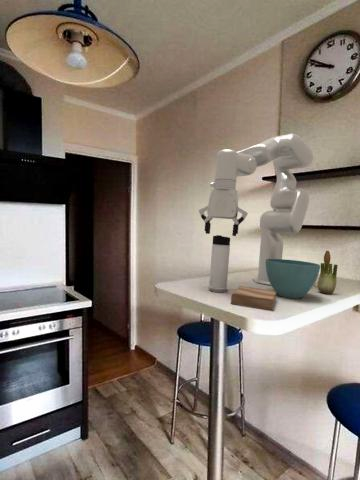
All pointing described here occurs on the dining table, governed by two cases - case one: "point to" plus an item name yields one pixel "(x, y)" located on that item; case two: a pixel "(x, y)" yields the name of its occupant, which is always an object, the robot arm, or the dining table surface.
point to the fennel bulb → (327, 278)
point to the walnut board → (254, 298)
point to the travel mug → (219, 264)
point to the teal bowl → (291, 276)
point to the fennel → (325, 261)
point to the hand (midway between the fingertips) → (220, 234)
